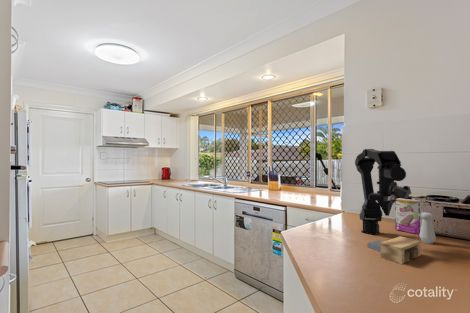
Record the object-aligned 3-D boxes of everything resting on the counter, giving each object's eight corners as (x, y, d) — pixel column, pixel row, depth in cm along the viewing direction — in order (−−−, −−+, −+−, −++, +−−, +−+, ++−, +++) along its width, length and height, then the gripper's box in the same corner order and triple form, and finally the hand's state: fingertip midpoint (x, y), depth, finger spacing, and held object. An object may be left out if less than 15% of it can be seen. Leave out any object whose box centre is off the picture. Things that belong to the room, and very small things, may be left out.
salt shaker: (439, 244, 105) (438, 214, 105) (423, 244, 106) (423, 214, 107) (431, 240, 111) (430, 211, 111) (416, 239, 112) (416, 211, 112)
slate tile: (367, 248, 102) (367, 242, 103) (379, 246, 105) (378, 240, 105) (401, 260, 90) (401, 254, 90) (413, 257, 92) (413, 251, 92)
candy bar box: (395, 230, 128) (394, 198, 129) (399, 228, 131) (398, 198, 132) (420, 235, 119) (419, 201, 119) (424, 233, 122) (423, 200, 122)
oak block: (381, 257, 91) (380, 242, 91) (400, 249, 99) (400, 236, 99) (401, 264, 85) (401, 248, 85) (420, 255, 93) (420, 240, 93)
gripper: (396, 181, 95) (397, 222, 94) (417, 179, 105) (418, 216, 104) (367, 180, 104) (368, 216, 103) (389, 178, 114) (390, 212, 113)
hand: (387, 215), depth 106 cm, fingers closed
